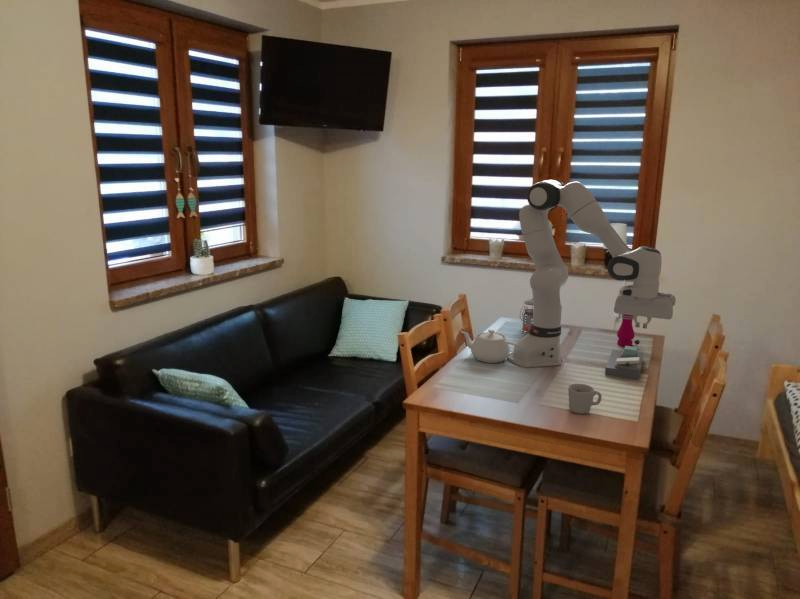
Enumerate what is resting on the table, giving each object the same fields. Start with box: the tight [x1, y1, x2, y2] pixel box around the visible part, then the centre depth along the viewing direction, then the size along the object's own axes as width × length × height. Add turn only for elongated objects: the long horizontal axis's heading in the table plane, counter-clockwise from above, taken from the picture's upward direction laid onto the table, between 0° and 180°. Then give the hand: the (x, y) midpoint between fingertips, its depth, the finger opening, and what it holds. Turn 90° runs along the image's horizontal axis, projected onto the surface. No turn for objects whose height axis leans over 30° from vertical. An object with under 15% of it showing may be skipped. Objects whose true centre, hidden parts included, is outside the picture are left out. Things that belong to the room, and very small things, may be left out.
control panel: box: [604, 349, 645, 381], centre depth 234 cm, size 24×12×6 cm, turn 155°
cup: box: [568, 383, 602, 415], centre depth 193 cm, size 11×8×8 cm
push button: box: [623, 346, 638, 356], centre depth 233 cm, size 4×4×3 cm
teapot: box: [460, 329, 519, 364], centre depth 242 cm, size 25×16×12 cm, turn 60°
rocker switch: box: [616, 357, 640, 366], centre depth 226 cm, size 4×8×2 cm, turn 65°
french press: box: [519, 298, 534, 332], centre depth 279 cm, size 10×12×25 cm
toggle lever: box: [632, 339, 641, 347], centre depth 239 cm, size 2×2×6 cm
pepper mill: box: [616, 314, 635, 347], centre depth 261 cm, size 7×7×20 cm
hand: (641, 327), depth 221 cm, fingers closed
